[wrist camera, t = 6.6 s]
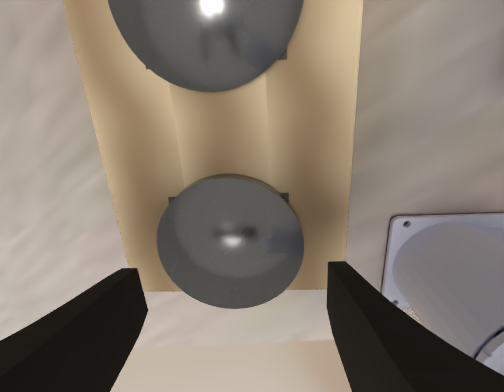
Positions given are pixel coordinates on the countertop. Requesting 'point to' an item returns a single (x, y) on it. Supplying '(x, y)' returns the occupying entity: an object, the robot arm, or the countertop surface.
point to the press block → (227, 131)
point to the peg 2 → (230, 241)
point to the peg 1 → (207, 38)
